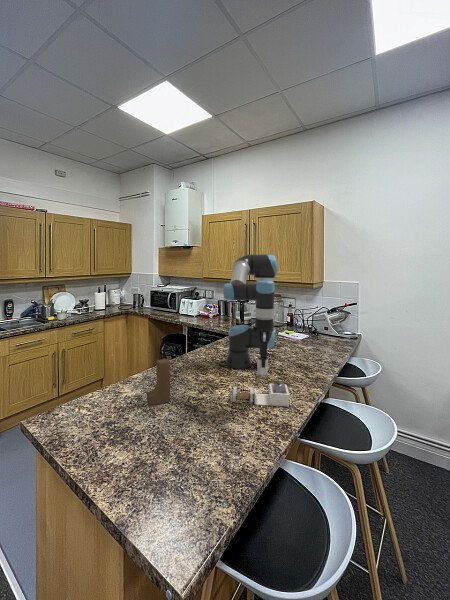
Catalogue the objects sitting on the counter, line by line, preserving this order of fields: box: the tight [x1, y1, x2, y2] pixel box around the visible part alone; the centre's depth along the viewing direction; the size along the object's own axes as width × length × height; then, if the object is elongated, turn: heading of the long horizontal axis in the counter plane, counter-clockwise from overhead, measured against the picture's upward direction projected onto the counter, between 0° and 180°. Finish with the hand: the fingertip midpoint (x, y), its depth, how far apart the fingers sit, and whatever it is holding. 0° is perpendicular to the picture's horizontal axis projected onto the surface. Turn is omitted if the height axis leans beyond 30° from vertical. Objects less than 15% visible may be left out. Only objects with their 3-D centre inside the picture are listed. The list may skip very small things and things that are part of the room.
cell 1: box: [256, 356, 269, 378], centre depth 119 cm, size 4×4×8 cm
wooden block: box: [146, 358, 171, 407], centre depth 120 cm, size 9×4×18 cm, turn 121°
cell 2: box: [273, 380, 285, 394], centre depth 120 cm, size 4×4×8 cm
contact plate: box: [236, 391, 250, 400], centre depth 123 cm, size 3×5×2 cm, turn 85°
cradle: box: [232, 386, 254, 403], centre depth 123 cm, size 9×9×4 cm
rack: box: [253, 383, 290, 407], centre depth 121 cm, size 10×14×6 cm
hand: (262, 371), depth 120 cm, fingers closed on cell 1, 4 cm apart
